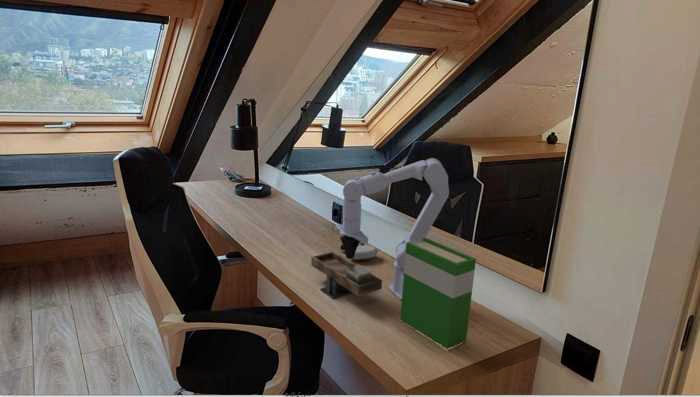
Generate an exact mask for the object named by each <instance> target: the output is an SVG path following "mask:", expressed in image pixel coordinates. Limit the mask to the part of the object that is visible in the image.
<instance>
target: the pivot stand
mask: <svg viewBox="0 0 700 397" xmlns="http://www.w3.org/2000/svg"><path fill="white" fill-rule="evenodd" d="M319 291H321V292H322V293H323V294H325V295H326V296H327V297H329V298H330V299H331V300H334V299H337V298H340V297H341V298H342V297H344V296H346V295H350V294H354V293H353V292H351V291H350V290H348V289H347V288H345V287H343V286H342V285H340V284H339V283H337V282H336V281H334V280H333V277H332V276H331V275H328V276H327V275H326V286H325V287H321V288H320V289H319Z"/></svg>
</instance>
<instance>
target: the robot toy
mask: <svg viewBox="0 0 700 397" xmlns="http://www.w3.org/2000/svg"><path fill="white" fill-rule="evenodd" d="M337 248H339V249H340V250H342V251H345V249H344V246H343V244H339V245H337ZM381 251H382V250H381V249H377V248H376V247H374V246H372V245H365V244H362V243H361V242H360V243H359V245H358V247H357V249H356V252H355V255H354V258H352V259H353V260H354V261H360V260H370V259H372V258H374V257H376V256H377V254H378V253H377V252H381Z"/></svg>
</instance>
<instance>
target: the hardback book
mask: <svg viewBox="0 0 700 397" xmlns="http://www.w3.org/2000/svg"><path fill="white" fill-rule="evenodd" d="M476 262H477V260H476V258H475V257H472V256H470V255H467V254H465V253H462V252H460V251H459V250H456V249H453V248H451V247H449V246H445V245H443V244H441V243H439V242H436V241H435V240H431V239H429V238H427V237H425V238H423V242H420V243H417V244H412V243H410V242H407V243H406V254H405V267H404V280H403V293H402V300H401V309H400V320H402V321H403V322H404V323H406V324H408V325H410V326H411V327H413V328H414V329H416V330H418V331H420V332H421V333H423V334H424V335H426V336H427V337H429V338H431V339H432V340H434V341H435V342H437V343H439V344H441V345H442V346H443V347H445V348H447V349H448V348H450V347H453V346H455V345H458V344H460V343H462V342H464V341H466V342H467V334H468V327H469V319H470V312H471V303H472V293H473V288H474V287H473V286H474V278H475V270H476ZM404 323H403V324H404ZM406 324H405V325H406Z"/></svg>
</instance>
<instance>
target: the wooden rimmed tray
mask: <svg viewBox="0 0 700 397" xmlns="http://www.w3.org/2000/svg"><path fill="white" fill-rule="evenodd" d="M310 259H311V262H310V263H311V264H310V265H311V267H313V268H315V269H317V270H318V271H319V272H321V273H323V274H324V275H325V276H326V277H327V276H328V275H331V276H332V277H333V280H334V281H336V282H337V283H339V284H340V285H342V286H343V287H345V288H347V289H348V290H350V291H351V292H353V293H352V294H355V295H356V297H361V296H364V295H367V294H370V293H373V292H377V291H379V290H382V289H383V288H382V286H383V280H382V279H381V278H379V277H378V276H376V275H374V274H372V273H371V282H369V283H366V284H363V285H360V286H359V285H358V284H356V283H355V282H353V281H352V280H350V279H348V278H347V277H346V273H347V268H349V267H353V266H357V264H356V263H354V262H352V261H350V259H348V258H346V257H343V256H342V255H340V254H338V253H336V252H335V251H330V252H326V253H322V254H318V255H315V256H311V258H310Z"/></svg>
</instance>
